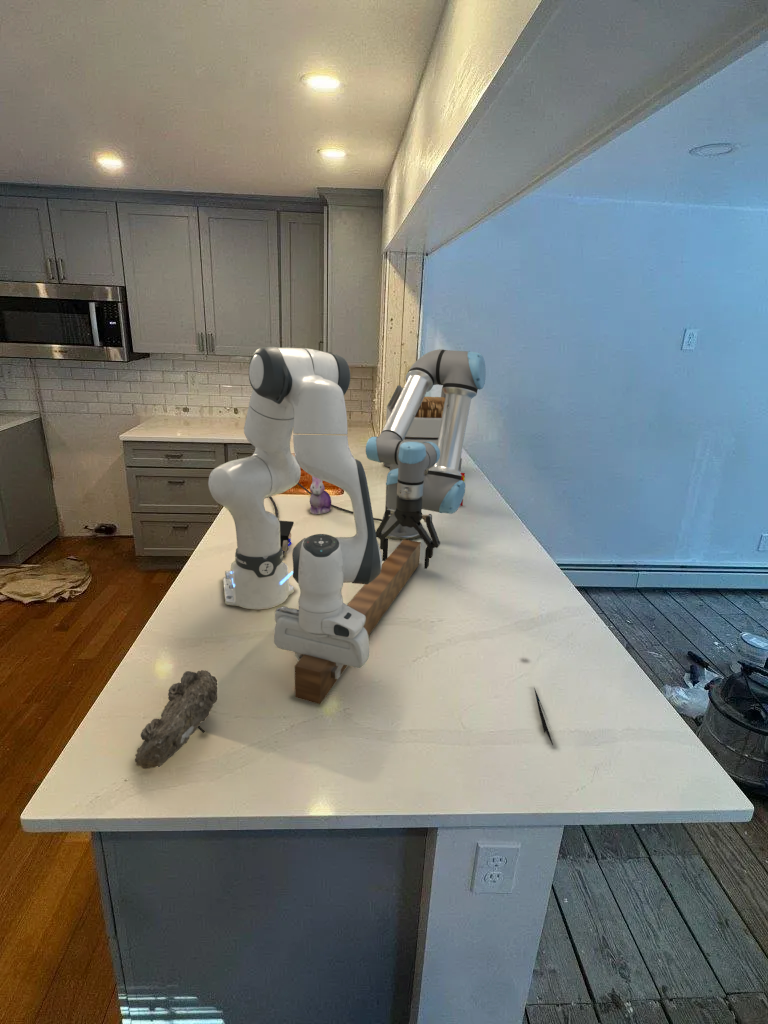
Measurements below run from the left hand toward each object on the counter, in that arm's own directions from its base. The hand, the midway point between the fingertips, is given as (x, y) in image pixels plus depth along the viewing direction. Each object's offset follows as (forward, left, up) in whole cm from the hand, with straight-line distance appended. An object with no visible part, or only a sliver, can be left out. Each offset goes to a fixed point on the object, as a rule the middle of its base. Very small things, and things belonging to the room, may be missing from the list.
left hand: (320, 673), depth 118 cm
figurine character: (-70, +15, -3) cm, 71 cm away
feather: (+24, +38, -3) cm, 45 cm away
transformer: (-131, +106, -3) cm, 168 cm away
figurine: (-98, +41, -3) cm, 107 cm away
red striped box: (-96, +99, -3) cm, 138 cm away
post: (-20, +22, -3) cm, 30 cm away
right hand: (-40, +44, 0) cm, 60 cm away
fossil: (+2, -28, -3) cm, 28 cm away
